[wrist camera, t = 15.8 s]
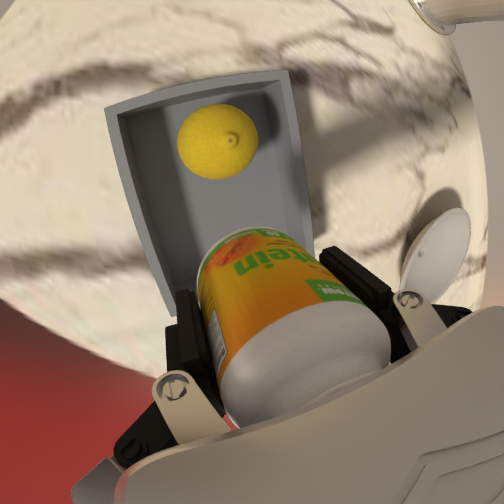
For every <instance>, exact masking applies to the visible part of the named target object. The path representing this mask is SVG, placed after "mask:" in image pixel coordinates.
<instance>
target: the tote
mask: <svg viewBox="0 0 504 504" xmlns="http://www.w3.org/2000/svg"><path fill="white" fill-rule="evenodd" d="M210 104H226V105H231V106H234V107H236V108H238V109H240V110H242V111H243V112H244V113H245V114H246V115H248V116H249V118H250V119H251V120H252V122H253V123H254V125H255V128H256V131H257V136H258V146H257V151H256V153H255V156H254V158H253V160H252V161H251V162H250V164H249V165H248V166H247V167H246V168H245V169H244V170H243V171H242V172H240V173H238V174H236V175H234V176H233V177H229V178H225V179H207V178H203V177H200V176H198V175H197V174H195V173H193V172H192V171H191V170H189V169H188V168H187V167H186V166H185V164H184V163H183V161H182V160H181V158H180V155H179V152H178V148H177V138H178V134H179V130H180V128H181V126H182V124H183V122H184V121H185V119H186V118H187V117H188V116H189V115H190V114H191V113H193V112H194V111H196V110H197V109H199V108H201V107H204V106H207V105H210ZM104 111H105V116H106V121H107V125H108V130H109V134H110V139H111V143H112V147H113V151H114V155H115V159H116V163H117V167H118V170H119V174H120V178H121V181H122V185H123V188H124V192H125V195H126V198H127V201H128V205H129V208H130V211H131V214H132V217H133V220H134V223H135V226H136V229H137V232H138V235H139V238H140V241H141V243H142V246H143V249H144V252H145V254H146V257H147V260H148V262H149V265H150V268H151V270H152V273H153V275H154V278H155V280H156V283H157V285H158V288H159V290H160V293H161V295H162V297H163V300H164V302H165V304H166V307H167V309H168V311H169V313H170V316H171V317H173V316H177V312H176V298H175V292H177V291H181V290H185V289H188V290H189V292H190V291H194V292H195V295H196V298H197V301H198V304H199V299H198V293H197V276H198V271H199V268H200V265H201V262H202V260H203V258H204V257H205V255H206V253H207V252H208V251H209V249H210V248H211V247H212V246H213V245H214V244H215V243H216V242H217V241H218V240H220V239H221V238H223V237H224V236H226V235H227V234H229V233H231V232H233V231H236V230H238V229H242V228H246V227H252V226H265V227H270V228H274V229H277V230H280V231H282V232H284V233H285V234H287V235H288V236H290V237H291V238H292V239H294V240H295V241H296V242H297V243H299V244H300V245H301V246H302V247H303V248H304V249H305V250H306V251H307V252H308V253H309V254H310V255H312V256H313V257H314V258H315V252H314V241H313V231H312V221H311V212H310V203H309V195H308V187H307V179H306V172H305V165H304V158H303V151H302V145H301V138H300V132H299V126H298V120H297V115H296V109H295V104H294V98H293V93H292V88H291V83H290V78H289V73H288V70H276V71H264V72H254V73H245V74H237V75H230V76H224V77H217V78H212V79H206V80H201V81H196V82H191V83H187V84H182V85H178V86H174V87H170V88H166V89H162V90H158V91H155V92H151V93H148V94H144V95H141V96H138V97H135V98H132V99H128V100H125V101H123V102H120V103H117V104H114V105H111V106H109V107H106V108H104ZM199 307H200V304H199Z"/></svg>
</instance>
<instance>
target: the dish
mask: <svg viewBox="0 0 504 504" xmlns="http://www.w3.org/2000/svg"><path fill="white" fill-rule="evenodd" d="M470 236H471V222H470V218H469V215H468V213H467V212H466V211H465V210H464V209H463V208H460V207H454V208H451V209H449V210H447V211H445V212H444V213H442V214H441V215H440V216H439V217H437V218H436V219H434V220H433V221H431V222H430V223H429V224H428V225H427V226H426V227H425V228H424V229H423V230H422V231H421V232H420V233H419V234H418V236H417V237H416V238H415V240H414V241H413V243H412V245H411V246H410V248H409V250H408V252H407V255H406V257H405V260H404V263H403V266H402V271H401V277H400V287H399V290H402V289H414V290H417V291H419V292H421V293H423V294H424V295H425V297H426V298H427V299H428V301H429V302H430V304H434V303H435V302H436V301H437V300H438V299H439V298H440V297H441V296H442V295H443V294H444V293H445V292H446V290H447V289H448V288H449V286H450V285H451V284H452V282H453V281H454V279H455V277H456V276H457V274H458V272H459V270H460V268H461V266H462V264H463V261H464V259H465V256H466V253H467V250H468V246H469V242H470ZM419 250H420V251H419Z"/></svg>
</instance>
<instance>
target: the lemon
mask: <svg viewBox="0 0 504 504" xmlns="http://www.w3.org/2000/svg"><path fill="white" fill-rule="evenodd" d="M257 146H258V136H257V131H256V128H255V125H254V123H253V122H252V120H251V119H250V118H249V116H248V115H246V114H245V113H244V112H243V111H242V110H240V109H238V108H236V107H234V106H231V105H226V104H210V105H207V106H204V107H201V108H199V109H197V110H196V111H194V112H193V113H191V114H190V115H189V116H188V117H187V118H186V119H185V121H184V122H183V124H182V126H181V128H180V130H179V134H178V138H177V148H178V152H179V155H180V158H181V160H182V161H183V163H184V164H185V166H186V167H187V168H188V169H189V170H191V171H192V172H193V173H195V174H197V175H198V176H200V177H203V178H207V179H225V178H229V177H233V176H234V175H236V174H238V173H240V172H242V171H243V170H244V169H245V168H246V167H247V166H248V165H249V164H250V162H251V161H252V160H253V158H254V156H255V153H256V151H257Z"/></svg>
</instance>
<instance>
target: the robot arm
mask: <svg viewBox="0 0 504 504" xmlns="http://www.w3.org/2000/svg"><path fill="white" fill-rule="evenodd" d="M409 1H410V3H411V4H412V6H413V7H414V9H415V10H416V12H417V13H418V14H419V15H420V17H421V18H422V19H423V20H424V21H425V22H426V23H427V24H428V25H429V26H430V27H431V28H432V29H434V30H435V31H436V32H438V33H440V34H444V35H447V34H452V33H453V32H454V31H455V28H456V24H461V23H470V22H481V21H504V0H409ZM319 262H320V263H321V264H322V265H323V266H324V267H325V268H326V269H327V270H328V271H329V272H330V273H331V274H333V275H334V276H335V277H336V278H337V279H338V280H339V281H340V282H341V283H342V284H343V285H344V286H345V287H346V288H347V289H349V290H350V291H351V292H352V293H353V294H354V295H355V296H356V297H357V298H358V299H360V300H361V301H362V302H363V303H364V304H365V305H366V306H367V307H368V308H369V309H370V310H371V311H372V312H373V313H374V314H375V315H376V316H377V317H378V318H379V319H380V320H381V322H382V323H383V324H384V326H385V327H386V329H387V331H388V334H389V337H390V342H391V356H390V362H389V366H387V367H385V368H384V369H382V370H380V371H378V372H376V373H375V374H373V375H371V376H369V377H367V378H365V379H363V380H361V381H359V382H357V383H355V384H353V385H351V386H349V387H347V388H345V389H343V390H341V391H339V392H337V393H334V394H332V395H330V396H328V397H325V398H323V399H321V400H318V401H316V402H314V403H311V404H309V405H306V406H304V407H301V408H299V409H296V410H294V411H291V412H288V413H286V414H283V415H280V416H277V417H275V418H272V419H269V420H266V421H263V422H259V423H256V424H253V425H250V426H247V427H243V428H240V429H237V430H233V431H231V429H230V428H229V427H228V426H227V424H226V423H225V422H224V420H223V419H222V418H223V417H224V415H226V412H225V408H224V404H223V401H222V399H221V395H220V391H219V387H218V383H217V379H216V375H215V370H214V366H213V362H212V358H211V354H210V350H209V346H208V341H207V336H206V332H205V328H204V323H203V318H202V313H201V310H200V307H199V304H198V301H197V298H196V295H195V292H194V291H190V292H189V290H188V289H185V290H181V291H177V292H175V298H176V312H177V324H175V325H171V326H167V327H166V328H165V337H166V359H167V373H164V374H163V375H161V376H160V377H159V378H158V379H157V380H156V381H155V383H154V384H153V387H152V394H153V397H154V399H155V401H154V402H153V403H152V404H151V405H150V406H149V408H147V410H146V411H145V412H144V413H143V414H142V415H141V416H140V417H139V418H138V419H137V420H136V421H135V422H134V423H133V425H132V426H131V427H130V428H129V429H128V430H127V431H126V432H125V433H124V434H123V435H122V436H121V437H120V438H119V439H118V441H117V442H116V443H115V446H114V455H113V456H112V457H111V458H108V457H106V458H105V459H104V460H102V461H101V462H100V463H99V464H98V465H97V466H96V467H95V468H93V469H92V470H91V471H90V472H89V473H88V474H86V475H85V476H84V477H83V478H82V479H81V480H80V481H78V482H77V483H76V484H75V485H74V487H73V488H72V492H71V496H72V500H73V502H74V504H504V307H502V306H492V307H487V308H483V309H480V310H478V311H475V312H472V311H471V310H469V309H467V308H464V307H456V306H446V305H436V304H430V302H429V301H428V299H427V298H426V297H425V295H424V294H423V293H421V292H419V291H417V290H414V289H402V290H399V291H398V292H396V293H393V292H392V291H391V288H390V287H389V286H388V285H387V284H385V283H384V282H383V281H381V280H380V279H379V278H378V277H376V276H375V275H374V274H372V273H371V272H370V271H368V270H367V269H366V268H364V267H363V266H362V265H360V264H359V263H358V262H356V261H355V260H354V259H352V258H351V257H350V256H348V255H347V254H346V253H344V252H343V251H342V250H340V249H339V248H337V247H336V246H332V247H329V248H326V249H323V250H322V253H320V255H319Z"/></svg>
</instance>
